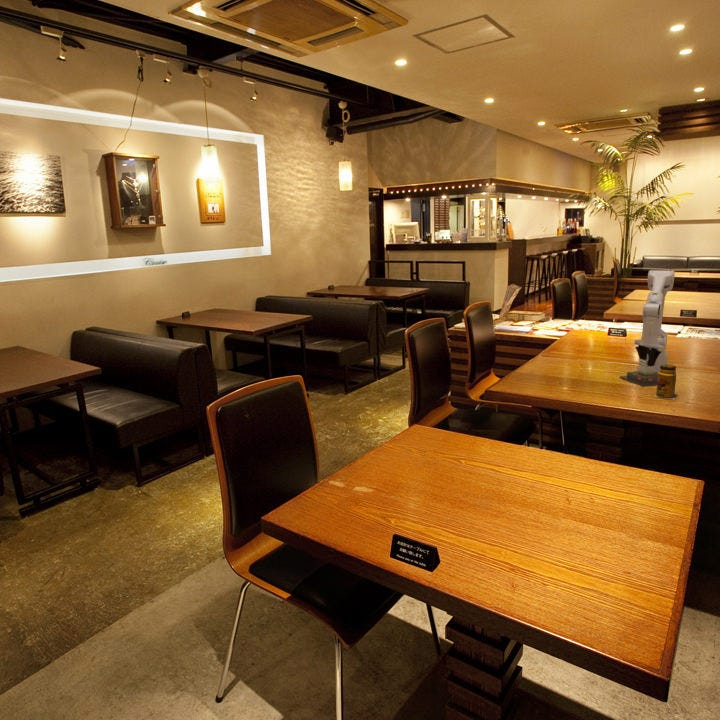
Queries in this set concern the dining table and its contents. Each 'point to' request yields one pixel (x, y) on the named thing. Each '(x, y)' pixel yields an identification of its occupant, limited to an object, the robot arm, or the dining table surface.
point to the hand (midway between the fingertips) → (646, 364)
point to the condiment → (666, 382)
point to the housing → (641, 379)
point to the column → (645, 367)
